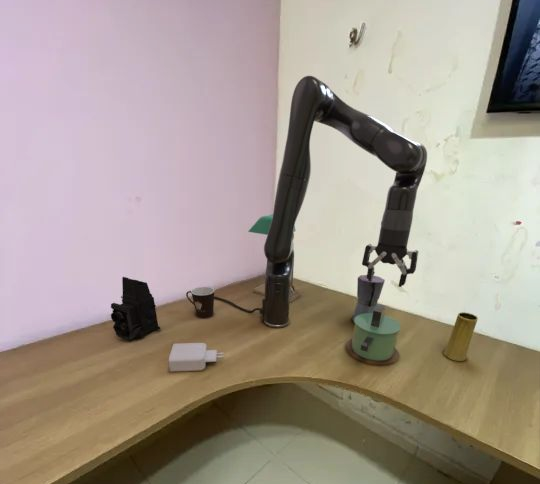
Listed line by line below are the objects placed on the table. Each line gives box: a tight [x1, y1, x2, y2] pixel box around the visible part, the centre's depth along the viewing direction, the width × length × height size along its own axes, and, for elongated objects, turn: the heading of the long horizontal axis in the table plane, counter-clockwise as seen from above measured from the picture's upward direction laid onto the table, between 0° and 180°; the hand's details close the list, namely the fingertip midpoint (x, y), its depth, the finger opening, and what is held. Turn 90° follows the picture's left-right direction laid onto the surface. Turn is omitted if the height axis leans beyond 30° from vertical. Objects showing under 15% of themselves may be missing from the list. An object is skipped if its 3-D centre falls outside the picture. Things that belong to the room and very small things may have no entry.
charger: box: [168, 342, 225, 373], centre depth 91 cm, size 5×9×15 cm
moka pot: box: [351, 271, 386, 323], centre depth 114 cm, size 10×15×20 cm, turn 174°
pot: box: [351, 303, 402, 361], centre depth 94 cm, size 19×14×15 cm
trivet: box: [346, 338, 399, 367], centre depth 100 cm, size 16×16×1 cm
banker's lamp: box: [247, 213, 301, 303], centre depth 135 cm, size 16×21×35 cm
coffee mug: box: [185, 286, 215, 319], centre depth 120 cm, size 12×9×10 cm
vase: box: [443, 311, 479, 362], centre depth 95 cm, size 6×6×14 cm
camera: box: [110, 276, 161, 341], centre depth 102 cm, size 10×14×20 cm
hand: (384, 283), depth 90 cm, fingers open, 8 cm apart
